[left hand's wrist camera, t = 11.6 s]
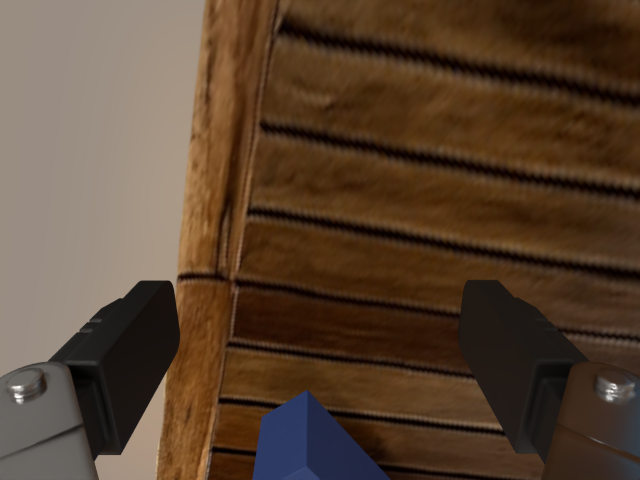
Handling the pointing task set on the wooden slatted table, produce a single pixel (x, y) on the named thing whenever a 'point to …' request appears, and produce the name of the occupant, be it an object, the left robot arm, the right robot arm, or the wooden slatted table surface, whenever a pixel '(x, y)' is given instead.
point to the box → (309, 446)
